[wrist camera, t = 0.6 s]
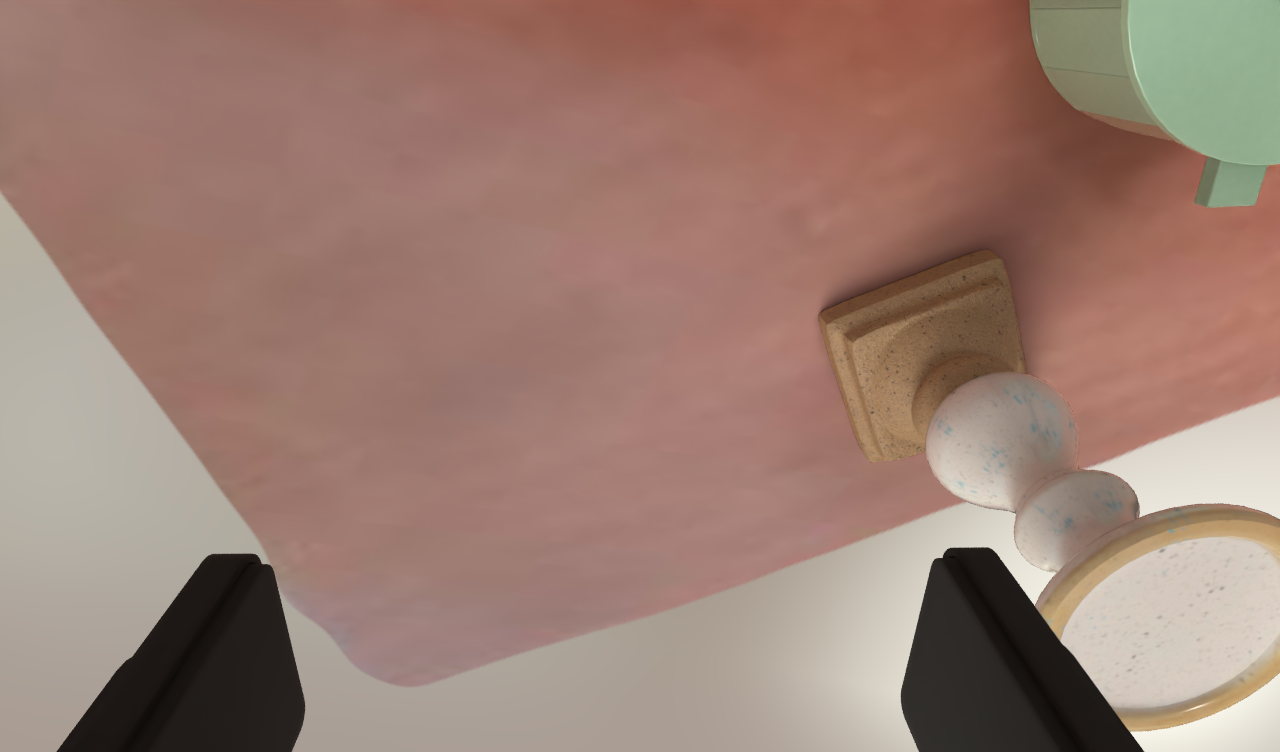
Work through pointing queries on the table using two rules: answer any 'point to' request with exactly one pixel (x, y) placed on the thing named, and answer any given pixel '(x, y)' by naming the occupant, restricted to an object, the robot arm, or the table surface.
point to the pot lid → (1208, 73)
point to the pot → (1118, 86)
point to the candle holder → (1061, 497)
